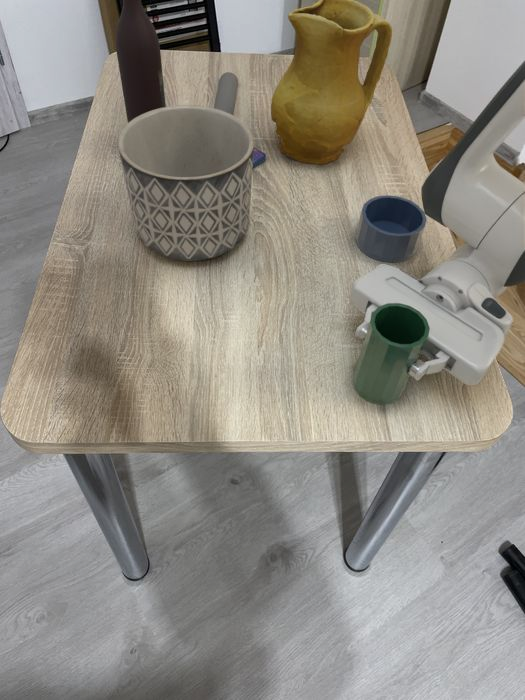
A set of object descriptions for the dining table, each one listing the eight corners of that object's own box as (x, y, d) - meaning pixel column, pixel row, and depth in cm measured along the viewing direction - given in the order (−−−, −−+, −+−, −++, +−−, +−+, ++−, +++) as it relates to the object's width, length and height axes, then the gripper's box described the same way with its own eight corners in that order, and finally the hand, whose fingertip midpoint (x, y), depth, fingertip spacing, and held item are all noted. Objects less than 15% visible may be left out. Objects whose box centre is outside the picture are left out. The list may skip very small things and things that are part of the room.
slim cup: (407, 370, 73) (432, 311, 64) (399, 410, 69) (425, 354, 60) (358, 357, 75) (376, 297, 65) (347, 395, 70) (365, 337, 61)
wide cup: (420, 230, 92) (430, 203, 88) (412, 269, 86) (421, 242, 82) (362, 216, 94) (368, 189, 89) (349, 253, 88) (355, 226, 83)
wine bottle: (174, 161, 102) (156, -24, 78) (136, 166, 100) (107, -21, 76) (165, 141, 106) (146, -41, 82) (129, 146, 104) (99, -38, 80)
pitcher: (279, 114, 113) (295, -21, 93) (365, 135, 111) (402, 2, 91) (256, 161, 103) (269, 20, 83) (351, 185, 101) (388, 47, 81)
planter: (199, 182, 98) (194, 92, 85) (274, 233, 90) (281, 143, 77) (110, 227, 89) (90, 134, 76) (185, 289, 81) (177, 197, 68)
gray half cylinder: (238, 80, 122) (238, 72, 121) (231, 126, 110) (231, 117, 109) (219, 79, 122) (219, 71, 121) (211, 124, 110) (210, 116, 109)
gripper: (391, 243, 74) (325, 291, 68) (525, 325, 66) (465, 390, 59) (381, 276, 79) (319, 324, 73) (505, 356, 71) (447, 419, 64)
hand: (386, 354), depth 66 cm, fingers closed on slim cup, 7 cm apart
